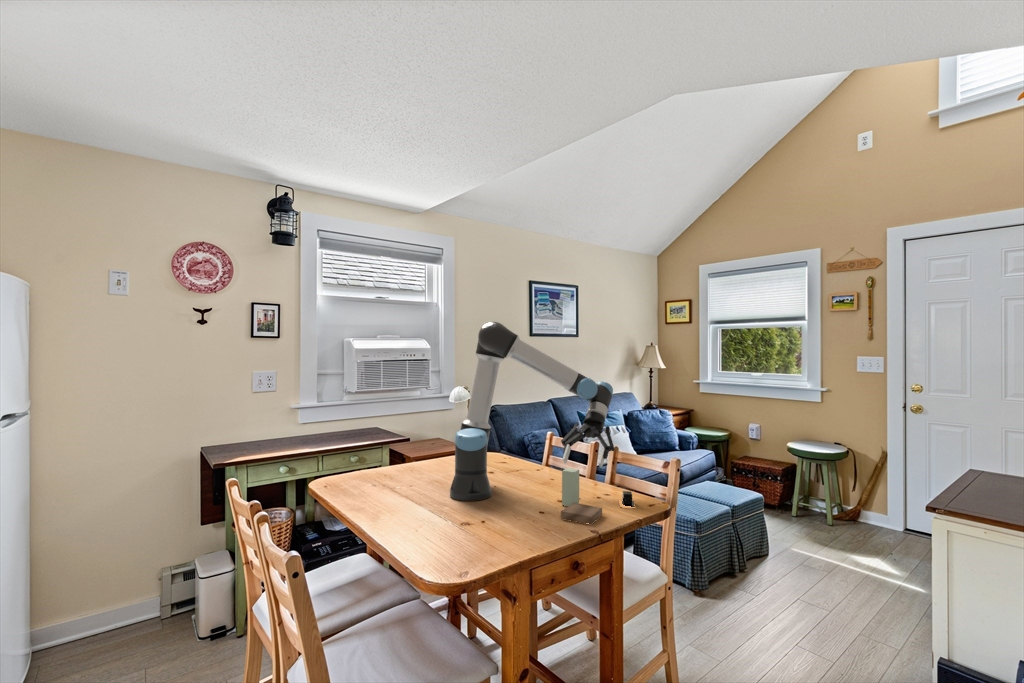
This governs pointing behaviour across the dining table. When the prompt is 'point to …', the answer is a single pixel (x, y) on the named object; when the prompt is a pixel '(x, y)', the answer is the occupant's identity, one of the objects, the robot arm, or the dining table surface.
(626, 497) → the black boxy device
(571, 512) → the slab
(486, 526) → the dining table surface
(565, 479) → the pillar
